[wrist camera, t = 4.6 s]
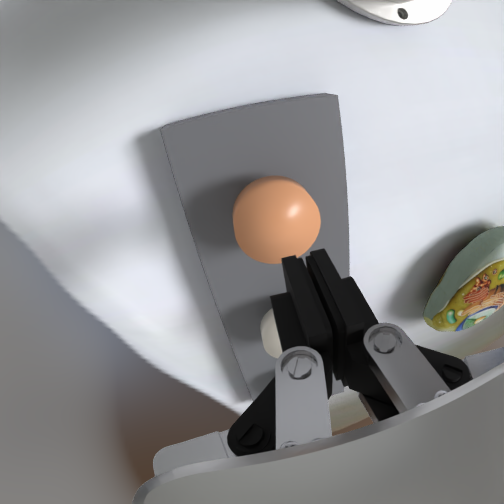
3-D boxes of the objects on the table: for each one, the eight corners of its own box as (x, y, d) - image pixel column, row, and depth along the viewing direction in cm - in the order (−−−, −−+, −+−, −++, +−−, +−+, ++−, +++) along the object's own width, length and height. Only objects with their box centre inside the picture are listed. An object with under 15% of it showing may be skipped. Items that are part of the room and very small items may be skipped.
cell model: (520, 284, 26) (461, 376, 24) (477, 252, 32) (411, 333, 29) (550, 221, 19) (498, 330, 16) (494, 186, 24) (425, 274, 21)
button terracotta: (223, 185, 16) (225, 196, 15) (307, 168, 16) (316, 177, 15) (241, 256, 19) (244, 271, 17) (315, 239, 19) (323, 253, 17)
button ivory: (255, 308, 21) (258, 325, 20) (319, 293, 21) (326, 308, 20) (265, 349, 23) (268, 365, 22) (322, 336, 23) (327, 350, 22)
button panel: (165, 125, 17) (160, 129, 15) (325, 93, 17) (337, 95, 15) (255, 398, 33) (258, 412, 31) (338, 378, 33) (343, 391, 31)
